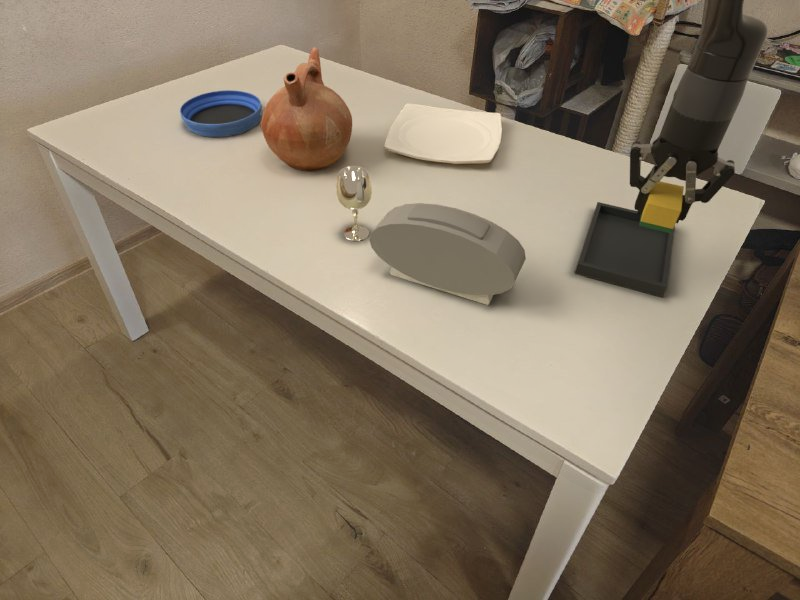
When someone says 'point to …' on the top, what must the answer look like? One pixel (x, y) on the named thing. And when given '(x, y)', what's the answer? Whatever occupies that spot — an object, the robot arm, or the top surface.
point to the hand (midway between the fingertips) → (657, 215)
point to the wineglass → (354, 197)
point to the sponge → (662, 207)
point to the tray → (626, 251)
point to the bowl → (221, 113)
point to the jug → (307, 120)
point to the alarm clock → (448, 250)
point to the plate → (445, 134)
